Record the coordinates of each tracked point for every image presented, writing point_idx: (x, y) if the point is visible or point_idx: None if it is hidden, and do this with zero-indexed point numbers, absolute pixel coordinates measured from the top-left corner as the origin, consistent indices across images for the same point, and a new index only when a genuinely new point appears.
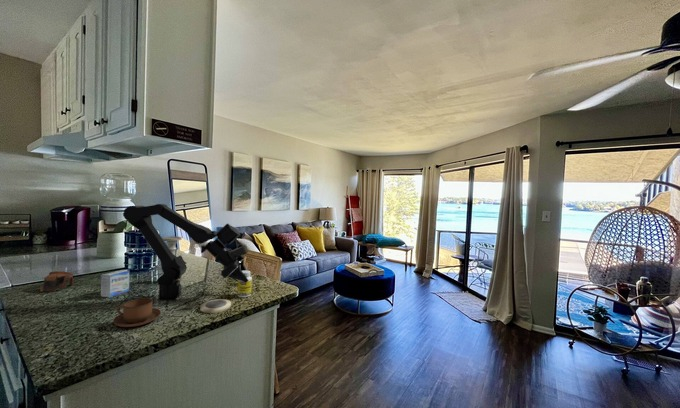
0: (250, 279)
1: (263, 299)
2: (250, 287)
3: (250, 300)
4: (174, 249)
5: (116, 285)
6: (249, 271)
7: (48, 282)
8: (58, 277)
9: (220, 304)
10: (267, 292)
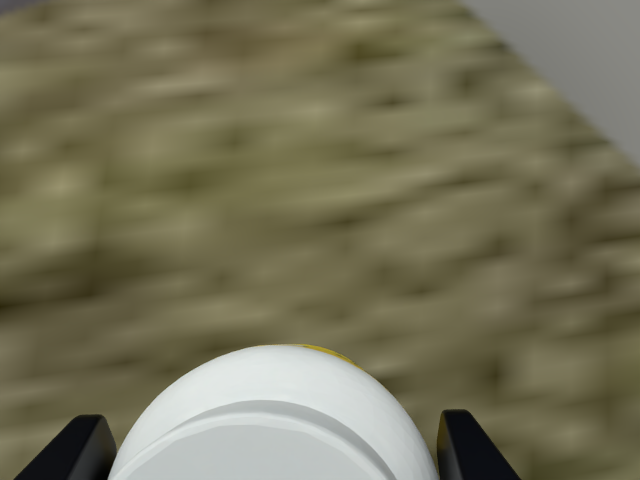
0: (350, 366)
1: (472, 157)
2: (339, 355)
3: (506, 321)
4: None
5: None
6: (222, 447)
7: None
8: None
9: None
10: (203, 134)
